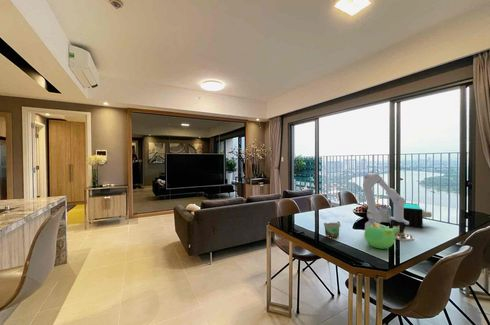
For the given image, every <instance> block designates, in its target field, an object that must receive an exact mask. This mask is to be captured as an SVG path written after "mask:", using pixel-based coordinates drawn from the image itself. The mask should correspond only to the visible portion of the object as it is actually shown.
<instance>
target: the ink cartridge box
mask: <svg viewBox="0 0 490 325" xmlns="http://www.w3.org/2000/svg"><path fill="white" fill-rule="evenodd" d="M376 207H377V209H378V210H379V212H380V214H381V216H382V221H381V222H380V223H391V221H392V220H391V219H389V217H392V208H391V207H387V205H386V204H380V207H379V206H376Z"/></svg>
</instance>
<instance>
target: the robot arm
mask: <svg viewBox="0 0 490 325" xmlns="http://www.w3.org/2000/svg"><path fill="white" fill-rule="evenodd" d="M376 184H378V185H379V186H380V187H381V188H382V189H383V190H384V191H385V194H386V195H387V196H388V197H389V199H390V200H391V202H392V204H393V203H394V217H393V216H391V217H389V219H391V220H392V221H391V222H390V223H391V224H392V227H393V226H399V228H400V233H403V232H404V229H405V228H406V227H407V226H406V225H408V224H409V221H406V220H404V204H405V203H407V202H406V200H405V198H403V197H401V195H400V194H399V193H398V192H397V190H396V189H394V188H391V187H390V186H389V185H388V184H387V182H386V181H385V180H384V179H383V177H382V176H381V175H380V174H378V173H370V172H368V173H366V174H365V175H364V176H363V183H362V188H363V192H364V196H365V200H366V205H367V209H366V211H367V212H366V217H367V219H368V221H366V222H365V223H364V231H365V230H366V229H367V227H368V226H370V225H373V224H374V222H376V223H378V224H381V223H382V222H381V221H382V216H381V214H380V212H379V210H378V209H377V207H378V206H377V204H376V198H375V196H374V191H373V187H374V185H376ZM399 222H401V223H399ZM398 224H399V225H398ZM405 230H406V229H405Z"/></svg>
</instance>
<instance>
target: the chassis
mask: <svg viewBox="0 0 490 325" xmlns="http://www.w3.org/2000/svg"><path fill="white" fill-rule="evenodd" d="M395 240H397V241H398V240H399V241H401V242H405V241H406V242H407V241H415V237H413V234H410V235H409V233H406V235H405V234H403V235H397V234H395Z"/></svg>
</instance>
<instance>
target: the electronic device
mask: <svg viewBox="0 0 490 325" xmlns="http://www.w3.org/2000/svg"><path fill="white" fill-rule="evenodd" d="M432 215H433V214H432V212H431V211H428V210H427V211H425V209H422V208H421V207H420V206H419V205H418V203H412V202H411V203H410V202H406V203H405V204H404V220H406V221H409V224H408V225H406V227H410V228H416V229H417V228H420V229H423V228H424V226H423V224H424V223H423V222H424V221H423V219H424V218H432ZM392 217H394V203H393V202H392ZM399 223H401V222H399ZM398 226H399V224H398Z"/></svg>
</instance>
